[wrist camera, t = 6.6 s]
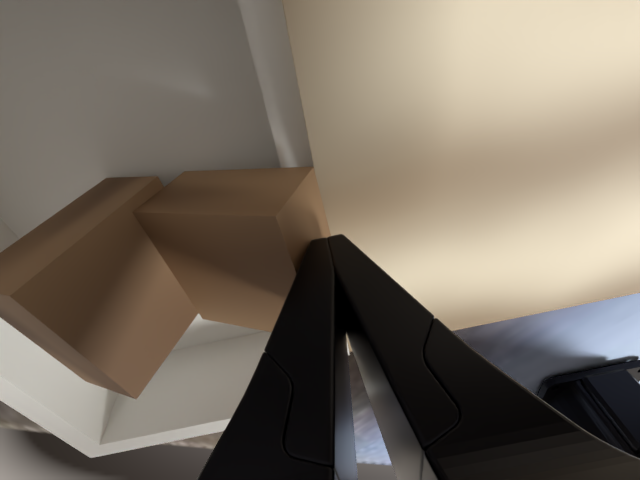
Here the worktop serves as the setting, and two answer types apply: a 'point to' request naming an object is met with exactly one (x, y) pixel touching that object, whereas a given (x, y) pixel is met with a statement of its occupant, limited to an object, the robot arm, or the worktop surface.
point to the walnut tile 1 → (97, 288)
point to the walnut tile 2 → (236, 238)
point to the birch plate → (478, 146)
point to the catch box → (138, 161)
